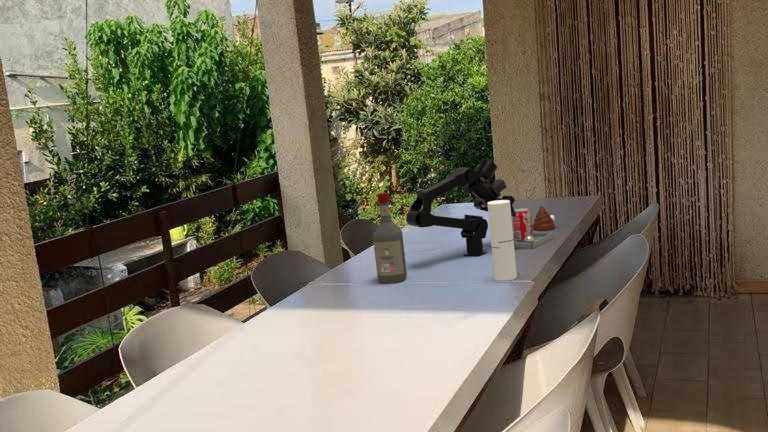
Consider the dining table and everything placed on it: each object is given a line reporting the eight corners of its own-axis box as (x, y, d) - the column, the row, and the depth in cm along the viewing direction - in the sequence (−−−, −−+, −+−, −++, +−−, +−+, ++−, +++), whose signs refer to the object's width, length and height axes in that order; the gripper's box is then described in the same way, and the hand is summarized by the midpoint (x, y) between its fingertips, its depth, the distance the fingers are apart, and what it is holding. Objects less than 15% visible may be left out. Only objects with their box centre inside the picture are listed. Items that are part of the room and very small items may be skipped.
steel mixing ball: (531, 246, 316) (531, 236, 315) (523, 245, 318) (522, 236, 317) (536, 243, 318) (535, 234, 318) (527, 243, 321) (526, 234, 320)
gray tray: (532, 248, 314) (532, 243, 313) (494, 247, 323) (494, 242, 323) (553, 238, 328) (553, 233, 328) (516, 237, 337) (516, 232, 337)
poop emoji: (528, 229, 351) (526, 207, 349) (545, 225, 354) (543, 203, 353) (542, 232, 342) (540, 209, 340) (560, 228, 345) (558, 205, 344)
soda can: (535, 237, 329) (532, 207, 327) (531, 241, 323) (528, 210, 321) (517, 238, 332) (514, 208, 330) (512, 242, 326) (510, 211, 324)
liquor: (403, 282, 286) (393, 194, 281) (377, 284, 288) (366, 196, 283) (408, 276, 294) (398, 190, 290) (382, 277, 296) (372, 192, 292)
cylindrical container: (516, 280, 272) (509, 203, 268) (493, 281, 274) (486, 204, 270) (517, 274, 279) (510, 199, 275) (495, 275, 280) (488, 201, 276)
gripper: (508, 174, 309) (534, 199, 316) (476, 172, 325) (501, 196, 332) (493, 199, 306) (519, 223, 314) (462, 196, 322) (487, 219, 329)
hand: (507, 215), depth 322 cm, fingers open, 9 cm apart
